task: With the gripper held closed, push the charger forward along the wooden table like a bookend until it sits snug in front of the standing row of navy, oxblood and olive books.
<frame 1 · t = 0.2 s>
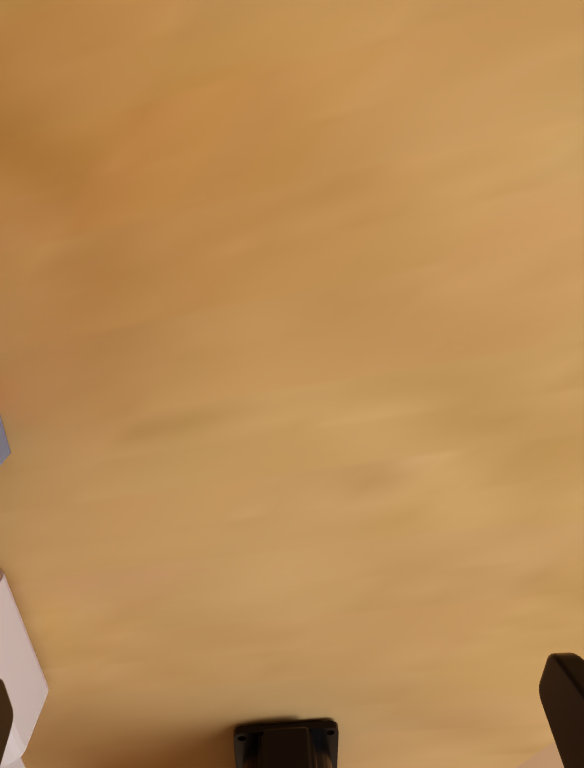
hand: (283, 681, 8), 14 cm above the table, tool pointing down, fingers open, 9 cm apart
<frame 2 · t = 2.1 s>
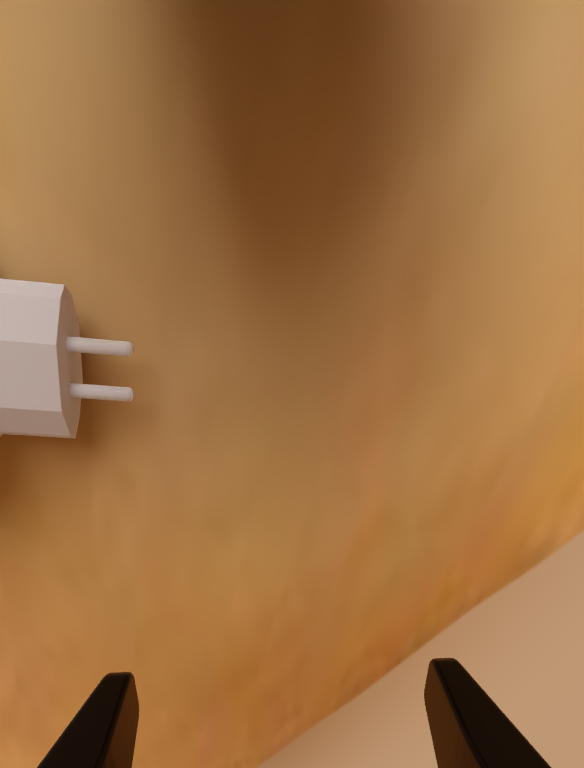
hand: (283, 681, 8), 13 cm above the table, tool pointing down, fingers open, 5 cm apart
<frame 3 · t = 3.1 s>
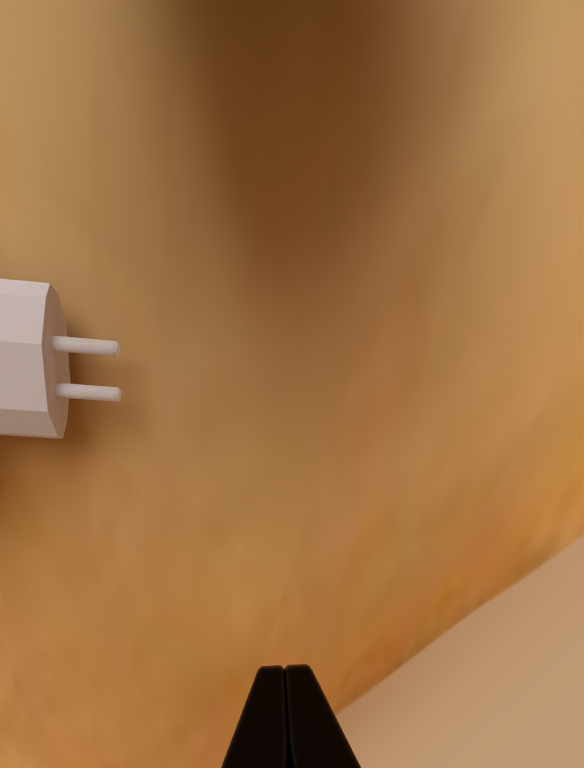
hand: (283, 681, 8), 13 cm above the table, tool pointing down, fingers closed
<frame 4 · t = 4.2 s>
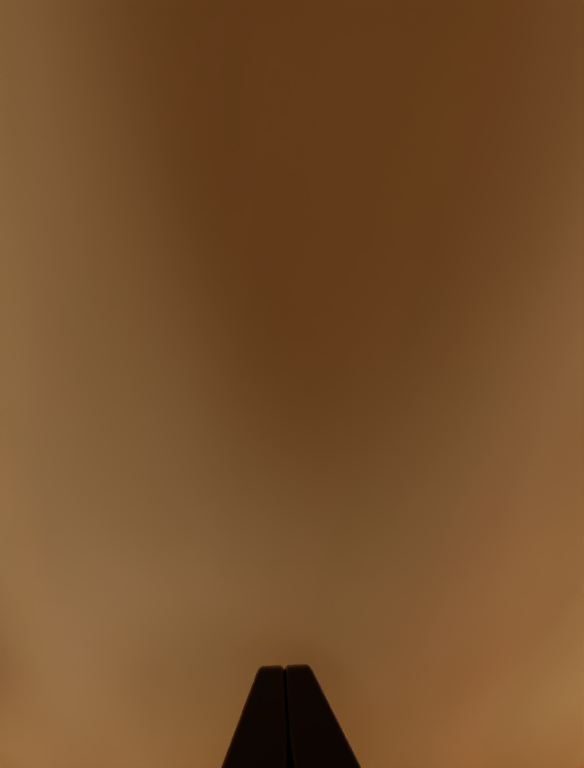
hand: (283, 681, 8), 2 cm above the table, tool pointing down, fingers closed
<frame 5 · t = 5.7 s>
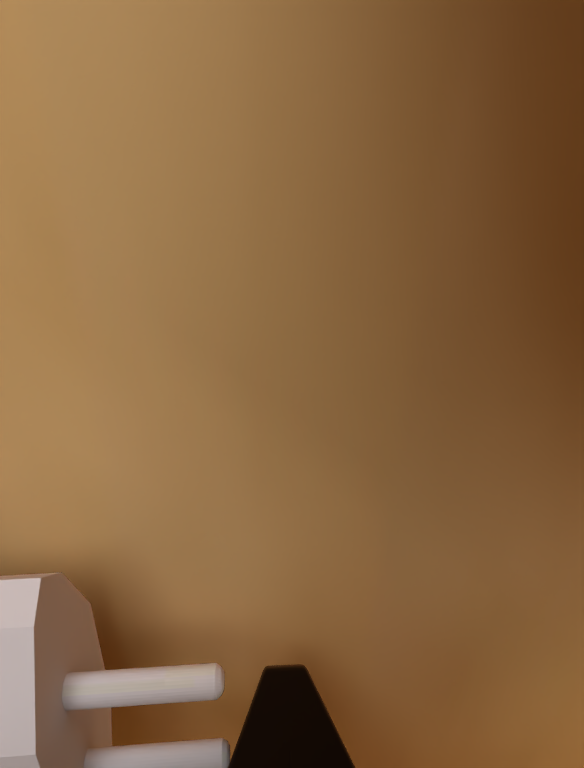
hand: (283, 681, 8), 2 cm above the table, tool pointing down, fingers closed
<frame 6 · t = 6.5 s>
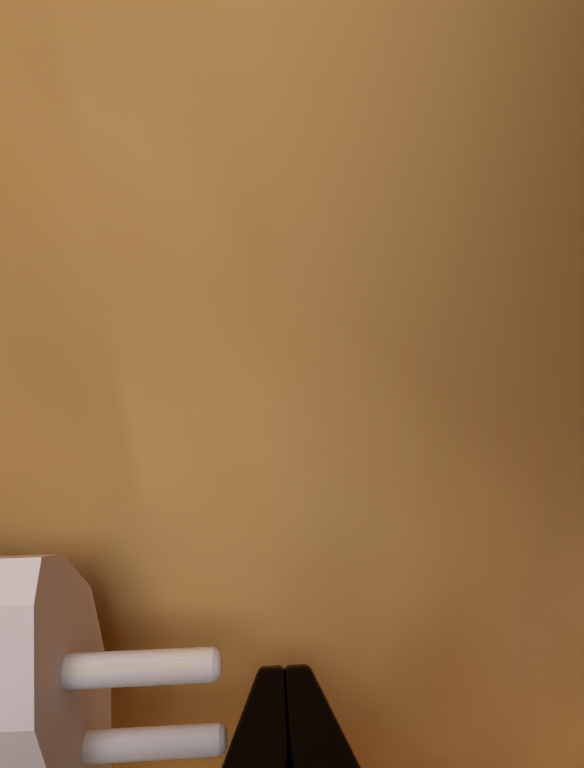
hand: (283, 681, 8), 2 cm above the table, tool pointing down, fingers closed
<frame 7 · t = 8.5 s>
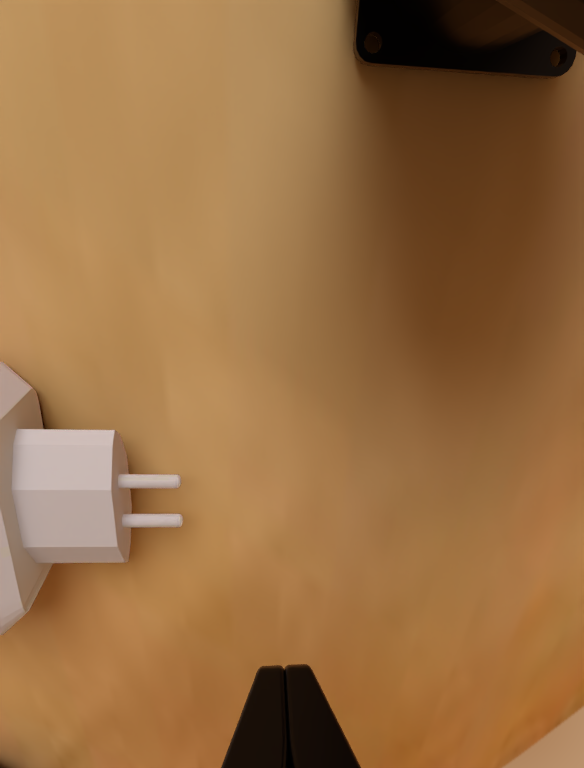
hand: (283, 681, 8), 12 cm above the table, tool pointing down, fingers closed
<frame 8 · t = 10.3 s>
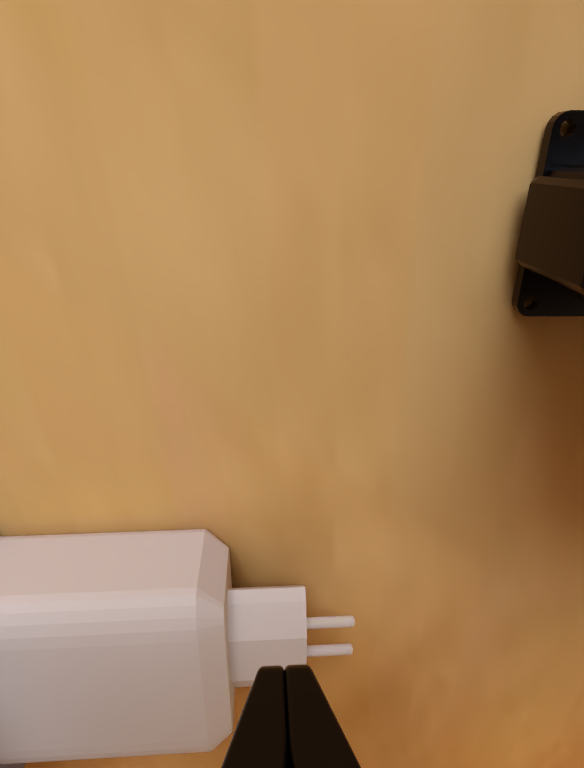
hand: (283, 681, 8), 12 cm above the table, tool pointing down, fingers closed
charger: (187, 594, 24), on the table
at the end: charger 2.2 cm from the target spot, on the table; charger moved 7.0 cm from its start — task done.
